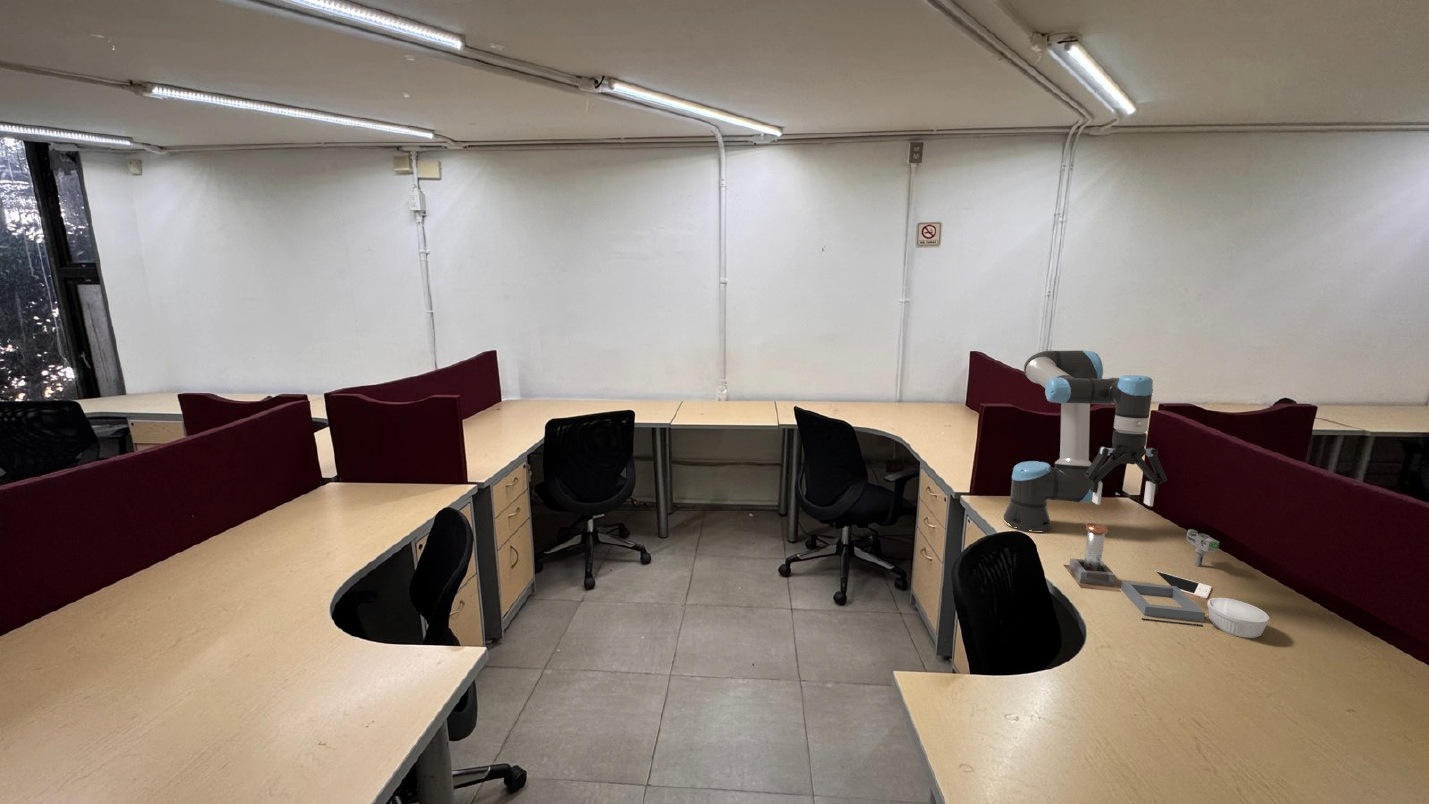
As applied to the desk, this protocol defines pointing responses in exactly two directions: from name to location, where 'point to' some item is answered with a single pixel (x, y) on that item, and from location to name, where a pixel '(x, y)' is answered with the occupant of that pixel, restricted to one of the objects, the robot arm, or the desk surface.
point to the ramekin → (1237, 617)
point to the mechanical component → (1201, 544)
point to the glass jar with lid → (1094, 546)
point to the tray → (1185, 612)
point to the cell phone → (1187, 585)
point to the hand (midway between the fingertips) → (1121, 504)
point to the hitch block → (1092, 576)
